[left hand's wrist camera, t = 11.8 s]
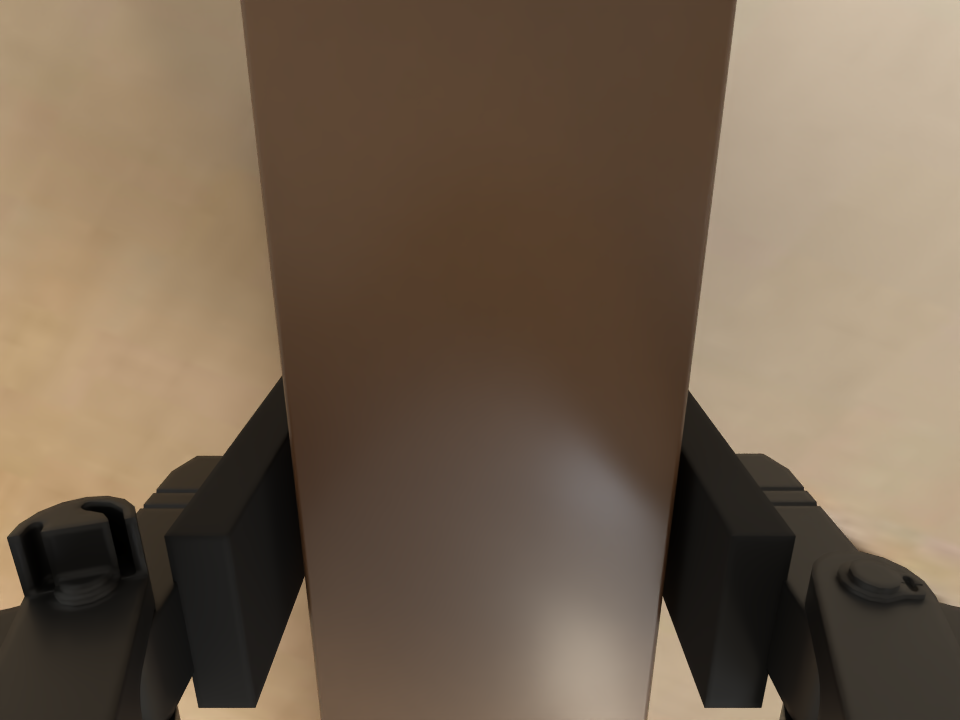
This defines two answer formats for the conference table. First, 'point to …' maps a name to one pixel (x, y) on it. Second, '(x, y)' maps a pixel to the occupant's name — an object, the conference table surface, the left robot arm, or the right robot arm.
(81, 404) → the conference table surface
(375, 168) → the beam
